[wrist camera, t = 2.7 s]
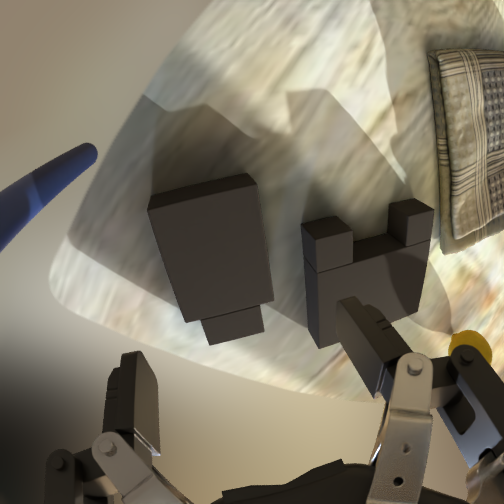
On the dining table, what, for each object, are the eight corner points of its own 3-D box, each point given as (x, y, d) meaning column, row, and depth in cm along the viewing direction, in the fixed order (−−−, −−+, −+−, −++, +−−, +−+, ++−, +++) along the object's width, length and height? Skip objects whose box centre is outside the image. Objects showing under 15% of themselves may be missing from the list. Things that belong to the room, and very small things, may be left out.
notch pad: (307, 329, 26) (318, 349, 24) (300, 223, 21) (314, 239, 19) (403, 296, 27) (417, 311, 25) (414, 197, 22) (434, 209, 20)
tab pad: (193, 326, 23) (195, 349, 21) (150, 195, 18) (146, 209, 16) (269, 306, 24) (278, 328, 21) (247, 172, 18) (257, 183, 16)
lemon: (431, 349, 34) (465, 391, 27) (456, 315, 32) (495, 356, 25) (448, 351, 36) (479, 389, 29) (472, 321, 34) (506, 357, 27)
